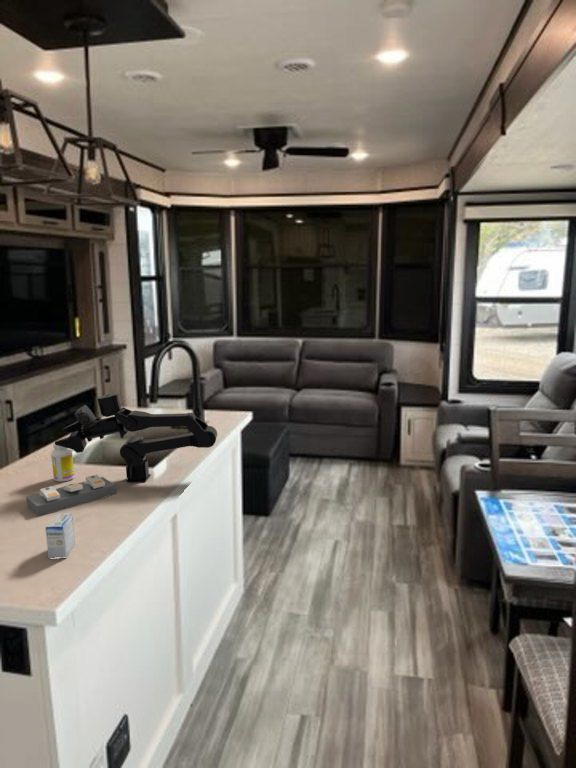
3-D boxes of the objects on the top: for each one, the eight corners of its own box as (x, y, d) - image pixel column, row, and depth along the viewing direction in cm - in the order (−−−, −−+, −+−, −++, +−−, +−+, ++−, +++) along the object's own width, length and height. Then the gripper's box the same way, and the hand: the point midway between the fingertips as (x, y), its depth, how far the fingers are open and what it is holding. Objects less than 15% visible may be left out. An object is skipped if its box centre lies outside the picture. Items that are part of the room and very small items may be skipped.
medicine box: (58, 545, 147) (54, 513, 146) (76, 544, 148) (72, 512, 146) (48, 560, 140) (44, 527, 138) (67, 559, 140) (63, 526, 138)
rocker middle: (64, 489, 176) (63, 485, 176) (75, 486, 178) (75, 482, 178) (71, 491, 171) (70, 487, 171) (83, 488, 174) (82, 484, 174)
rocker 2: (85, 480, 180) (85, 477, 180) (96, 477, 183) (96, 474, 182) (93, 488, 176) (93, 485, 176) (105, 485, 179) (105, 482, 178)
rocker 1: (40, 492, 171) (40, 488, 171) (52, 489, 174) (52, 485, 173) (47, 501, 167) (47, 497, 167) (60, 497, 170) (59, 494, 169)
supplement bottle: (78, 475, 198) (74, 440, 196) (69, 482, 192) (65, 445, 189) (59, 475, 199) (56, 439, 196) (50, 482, 192) (46, 445, 190)
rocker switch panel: (103, 485, 188) (102, 475, 188) (116, 493, 181) (115, 483, 180) (27, 506, 173) (25, 495, 172) (38, 516, 165) (37, 504, 165)
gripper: (103, 394, 195) (58, 403, 195) (90, 418, 178) (41, 428, 178) (113, 422, 199) (70, 431, 199) (101, 448, 182) (54, 458, 182)
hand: (59, 436), depth 190 cm, fingers open, 9 cm apart
